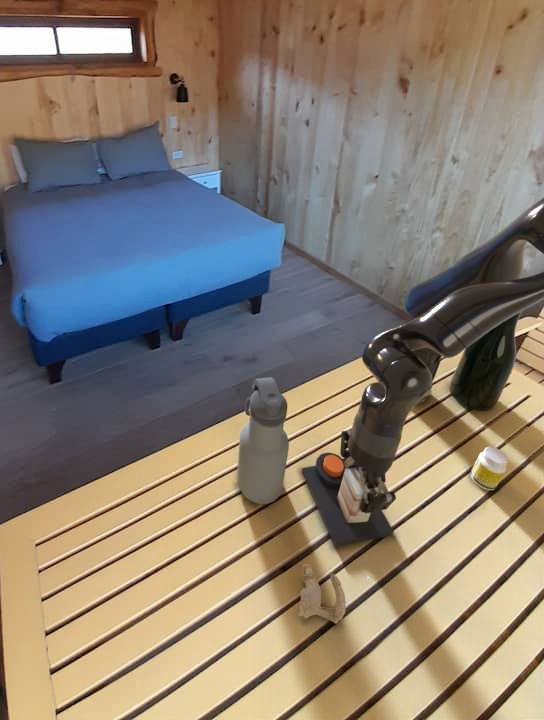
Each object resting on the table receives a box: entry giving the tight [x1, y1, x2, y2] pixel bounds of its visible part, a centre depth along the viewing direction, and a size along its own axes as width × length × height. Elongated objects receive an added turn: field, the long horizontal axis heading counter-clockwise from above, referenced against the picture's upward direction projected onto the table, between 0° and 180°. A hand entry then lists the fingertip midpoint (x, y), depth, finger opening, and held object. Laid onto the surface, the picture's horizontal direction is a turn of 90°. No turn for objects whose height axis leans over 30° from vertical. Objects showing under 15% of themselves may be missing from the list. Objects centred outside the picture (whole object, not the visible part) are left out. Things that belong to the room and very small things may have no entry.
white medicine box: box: [337, 468, 373, 523], centre depth 78 cm, size 5×4×10 cm
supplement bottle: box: [470, 446, 509, 491], centre depth 85 cm, size 5×5×8 cm
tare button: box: [323, 455, 344, 478], centre depth 86 cm, size 4×4×2 cm
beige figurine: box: [297, 563, 347, 624], centre depth 67 cm, size 9×6×10 cm
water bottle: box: [236, 377, 290, 505], centre depth 81 cm, size 10×10×28 cm
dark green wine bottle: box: [448, 311, 523, 413], centre depth 99 cm, size 10×10×33 cm
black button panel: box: [301, 452, 394, 548], centre depth 83 cm, size 16×12×3 cm
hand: (357, 493), depth 78 cm, fingers closed on white medicine box, 5 cm apart
